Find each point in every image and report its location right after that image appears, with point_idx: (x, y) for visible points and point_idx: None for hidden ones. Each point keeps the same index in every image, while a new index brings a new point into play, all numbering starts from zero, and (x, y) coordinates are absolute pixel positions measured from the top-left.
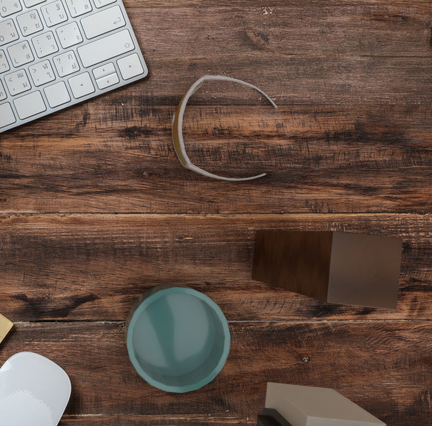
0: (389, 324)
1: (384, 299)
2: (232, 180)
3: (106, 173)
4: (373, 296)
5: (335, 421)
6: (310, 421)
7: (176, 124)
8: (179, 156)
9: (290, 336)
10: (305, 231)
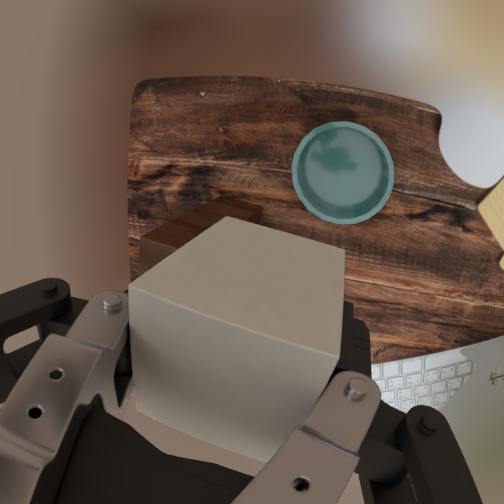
0: (152, 155)
1: (150, 248)
2: None
3: (373, 315)
4: (159, 253)
5: (226, 448)
6: None
7: None
8: None
9: (232, 150)
10: None
